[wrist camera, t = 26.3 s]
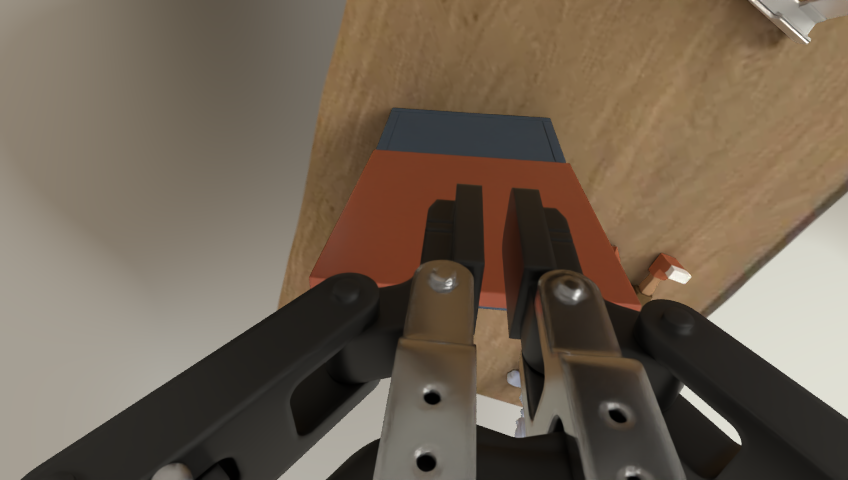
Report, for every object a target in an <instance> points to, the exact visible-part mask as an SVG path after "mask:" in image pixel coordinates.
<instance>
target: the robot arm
mask: <svg viewBox="0 0 848 480" xmlns="http://www.w3.org/2000/svg"><path fill="white" fill-rule="evenodd" d="M502 259H503V271H504V283H505V295H506V306H507V318H508V330H509V338H512V339H521V345H522V350H521V354H520V358H519V375H520V384H521V393H522V402H523V411H524V420H525V431H526V437H522V438H516V437H511V436H508V435H505V434H502V433H499V432H497V431H494V430H491V429H488V428H485V427H482V426H479V425H476V345H475V344H473V335H474V334H475V327H476V320H477V313H478V307H479V300H480V293H481V287H482V280H483V273H484V267H485V253H484V223H483V193H482V185H474V184H460V183H457V186H456V196H455V200H443V199H437V200H436V201H435V202H434V203H433V204H432V205H431V206H430V207H429V208H428V213H427V220H426V227H425V233H424V240H423V247H422V254H421V261H420V266H419V267H418V268H417V269H416V271H415V272H414V275H413V277H412V278H410V279H409V280H407V281H405V282H403V283H400V284H397V285H392V286H386V287H379V288H378V285H377V284H376V282H375V281H374V280H373V279H371V278H370V277H368V276H366V275H364V274H360V273H354V272H346V273H340V274H336V275H333V276H331V277H329V278H327V279H325V280H324V281H322V282H321V283H319V284H318V285H316V286H314V287H313V288H311V289H310V290H308V291H307V292H305V293H304V294H302V295H301V296H299V297H298V298H296V299H294V300H293V301H291V302H290V303H288V304H287V305H285V306H284V307H282V308H281V309H279V310H278V311H276V312H275V313H273V314H271V315H270V316H268V317H267V318H265V319H264V320H262V321H261V322H259V323H258V324H256V325H254V326H253V327H251V328H250V329H248V330H247V331H245V332H244V333H242V334H241V335H239V336H237V337H236V338H234V339H233V340H231V341H230V342H228V343H227V344H225V345H224V346H222V347H221V348H219V349H217V350H216V351H214V352H213V353H211V354H210V355H208V356H207V357H205V358H204V359H202V360H201V361H199V362H197V363H196V364H194V365H193V366H191V367H190V368H188V369H187V370H185V371H184V372H182V373H181V374H179V375H177V376H176V377H174V378H173V379H171V380H170V381H168V382H167V383H165V384H164V385H162V386H161V387H159V388H157V389H156V390H154V391H153V392H151V393H150V394H148V395H147V396H145V397H144V398H142V399H141V400H139V401H138V402H136V403H135V404H133V405H132V406H130V407H128V408H127V409H126V410H124V411H122V412H121V413H119V414H118V415H116V416H114V417H113V418H111V419H110V420H108V421H107V422H105V423H104V424H102V425H101V426H99V427H98V428H96V429H94V430H93V431H91V432H90V433H88V434H87V435H85V436H84V437H82V438H81V439H79V440H77V441H76V442H74V443H73V444H71V445H70V446H68V447H67V448H65V449H64V450H62V451H61V452H59V453H57V454H56V455H55V456H53V457H52V458H50V459H48V460H47V461H45V462H44V463H42V464H41V465H39V466H38V467H36V468H35V469H33V470H32V471H31V472H29V473H28V474H27V475H26V476H24V477H23V478H22V479H21V480H277V479H278V478H279V477H280V476H281V475H282V474H284V473H285V471H287V470H288V469H289V468H290V467H291V466H292V465H293V464H294V463H295V462H296V461H297V460H298V459H300V458H301V457H302V456H303V455H304V454H305V453H306V452H307V451H308V450H309V449H310V448H311V447H312V446H313V445H315V444H316V443H317V442H318V441H319V440H320V439H321V438H322V437H323V436H324V435H325V434H326V433H327V432H329V431H330V430H331V429H332V428H333V427H334V426H335V425H336V424H337V423H338V422H339V421H340V420H341V419H342V418H343V417H345V416H346V415H347V414H348V413H349V412H350V411H351V410H352V409H353V408H354V407H355V406H356V405H357V404H359V403H360V402H361V401H362V400H363V399H364V398H365V397H366V396H367V395H368V394H369V393H370V392H371V391H373V390H374V389H375V388H376V386H377V385H378V384H379V382H380V379H384V378H389V377H391V383H390V388H389V394H388V399H387V405H386V410H385V416H384V421H383V427H382V432H381V438H379V439H377V440H374V441H373V442H371V443H369V444H367V445H366V446H364V447H362V448H361V449H360V450H358V451H357V452H356V453H354V454H353V455H352V456H351V457H349V458H348V459H347V460H346V461H345V462H344V463H343V464H342V465H341V466H340V467H339V468H338V469H337V470H336V471H335V472H334V473H333V474H332V475H330V476H329V477H328V478H327V479H326V480H848V419H847V418H846V417H844V416H843V415H841V414H840V413H838V412H837V411H836V410H834V409H833V408H832V407H830V406H829V405H827V404H826V403H825V402H823V401H822V400H820V399H819V398H818V397H816V396H815V395H813V394H812V393H811V392H809V391H808V390H806V389H805V388H804V387H802V386H801V385H799V384H798V383H797V382H795V381H794V380H792V379H791V378H789V377H788V376H787V375H785V374H784V373H782V372H781V371H780V370H778V369H777V368H775V367H774V366H773V365H771V364H770V363H768V362H767V361H766V360H764V359H763V358H761V357H760V356H759V355H757V354H756V353H754V352H753V351H752V350H750V349H749V348H747V347H746V346H744V345H743V344H742V343H740V342H739V341H737V340H736V339H734V338H733V337H732V336H730V335H729V334H728V333H726V332H724V331H723V330H722V329H721V328H719V327H718V326H716V325H715V324H714V323H712V322H711V321H709V320H708V319H707V318H705V317H704V316H702V315H701V314H700V313H698V312H697V311H695V310H694V309H692V308H690V307H688V306H686V305H684V304H681V303H679V302H675V301H671V300H664V299H657V300H652V301H649V302H647V303H646V304H645V305H644V306H643V307H642V309H641V311H640V312H639V311H636V310H633V309H630V308H627V307H623V306H620V305H617V304H614V303H612V302H609V301H607V300H605V299H604V298H603V297H602V294H601V291H600V289H599V288H598V286H597V285H596V284H595V283H594V282H593V281H592V280H591V279H589V278H588V277H586V276H584V275H583V272H582V268H581V265H580V262H579V258H578V255H577V252H576V248H575V245H574V243H573V238H572V235H571V233H570V228H569V225H568V222H567V219H566V218H565V217H564V216H563V215H562V214H561V213H560V212H559V211H558V210H557V209H556V208H549V207H543V205H542V200H541V196H540V192H539V189H528V188H515V187H512V189H511V192H510V197H509V203H508V209H507V214H506V220H505V226H504V232H503V240H502ZM684 385H686V386H687V387H688V388H689V389H691V390H692V391H693V392H694V393H695V394H696V395H698V396H699V397H700V398H701V399H702V400H704V401H705V402H706V403H707V404H708V405H709V406H711V407H712V408H713V409H714V410H715V411H716V412H717V413H719V414H720V415H721V416H722V417H723V418H724V419H726V420H727V421H728V422H729V423H730V424H731V425H732V426H733V427H734V428H735V429H736V431H737V432H738V434H739V436H740V438H741V442H742V446H741V445H739V444H737V443H736V442H734V441H733V440H732V439H731V438H730V437H729V436H727V435H726V434H725V433H724V432H723V431H721V429H719V428H718V427H717V426H716V425H715V424H714V423H713V422H711V421H710V420H709V419H708V418H707V417H706V416H704V415H703V414H702V413H701V412H700V411H699V410H698V409H697V408H695V407H694V406H693V405H692V404H691V403H690V402H689V401H687V400H686V399H685V398H684V397H682V395H681V394H679V393H680V391H681V389H682V388H683V386H684Z"/></svg>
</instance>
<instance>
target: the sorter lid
mask: <svg viewBox="0 0 848 480" xmlns="http://www.w3.org/2000/svg"><path fill="white" fill-rule="evenodd" d="M457 183H460V184H474V185H482V193H483V223H484V253H485V267H484V273H483V280H482V287H481V293H480V300H479V306H484V307H495V308H507V306H506V295H505V283H504V271H503V259H502V240H503V232H504V226H505V220H506V214H507V209H508V203H509V197H510V192H511V189H512V187H515V188H528V189H539V192H540V196H541V200H542V205H543V207H549V208H556V209H557V210H558V211H559V212H560V213H561V214H562V215H563V216H564V217H565V218H566V219H567V222H568V225H569V228H570V233H571V235H572V238H573V243H574V245H575V248H576V252H577V255H578V258H579V262H580V265H581V268H582V272H583V275H584V276H586V277H588V278H589V279H591V280H592V281H593V282H594V283H595V284H596V285H597V286H598V288H599V289H600V291H601V294H602V297H603V298H604V299H605V300H607V301H609V302H612V303H614V304H617V305H620V306H623V307H627V308H630V309H633V310H636V311H640V309H641V303H640V301H639V299H638V297H637V295H636V293H635V291H634V289H633V287H632V285H631V284H630V282H629V280H628V278H627V276H626V274H625V272H624V270H623V268H622V266H621V264H620V262H619V260H618V258H617V256H616V254H615V252H614V250H613V248H612V246H611V244H610V242H609V240H608V238H607V236H606V234H605V232H604V230H603V228H602V226H601V224H600V222H599V220H598V218H597V216H596V214H595V212H594V211H593V209H592V207H591V205H590V203H589V201H588V199H587V197H586V195H585V193H584V191H583V189H582V187H581V185H580V183H579V181H578V179H577V177H576V175H575V173H574V171H573V169H572V167H571V165H570V164H569V163H558V162H544V161H529V160H515V159H501V158H487V157H473V156H458V155H444V154H430V153H416V152H401V151H387V150H373V152H372V154H371V156H370V158H369V160H368V162H367V164H366V166H365V168H364V170H363V172H362V174H361V176H360V178H359V180H358V182H357V184H356V186H355V188H354V190H353V192H352V193H351V195H350V197H349V199H348V201H347V203H346V205H345V207H344V209H343V211H342V213H341V215H340V217H339V219H338V221H337V223H336V225H335V227H334V229H333V231H332V233H331V235H330V237H329V239H328V241H327V243H326V245H325V247H324V249H323V251H322V253H321V255H320V257H319V259H318V261H317V263H316V265H315V266H314V268H313V270H312V272H311V274H310V276H309V282H310V289H311V288H313V287H314V286H316V285H318V284H319V283H321V282H322V281H324V280H325V279H327V278H329V277H331V276H333V275H336V274H340V273H346V272H354V273H360V274H364V275H366V276H368V277H370V278H371V279H373V280H374V281H375V282H376V284H377V285H378V288H379V287H386V286H392V285H397V284H400V283H403V282H405V281H407V280H409V279H410V278H412V277H413V275H414V272H415V271H416V269H417V268H418V267H419V266H420V261H421V254H422V247H423V240H424V233H425V227H426V220H427V213H428V208H429V207H430V206H431V205H432V204H433V203H434V202H435V201H436V200H437V199H443V200H455V196H456V186H457Z"/></svg>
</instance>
